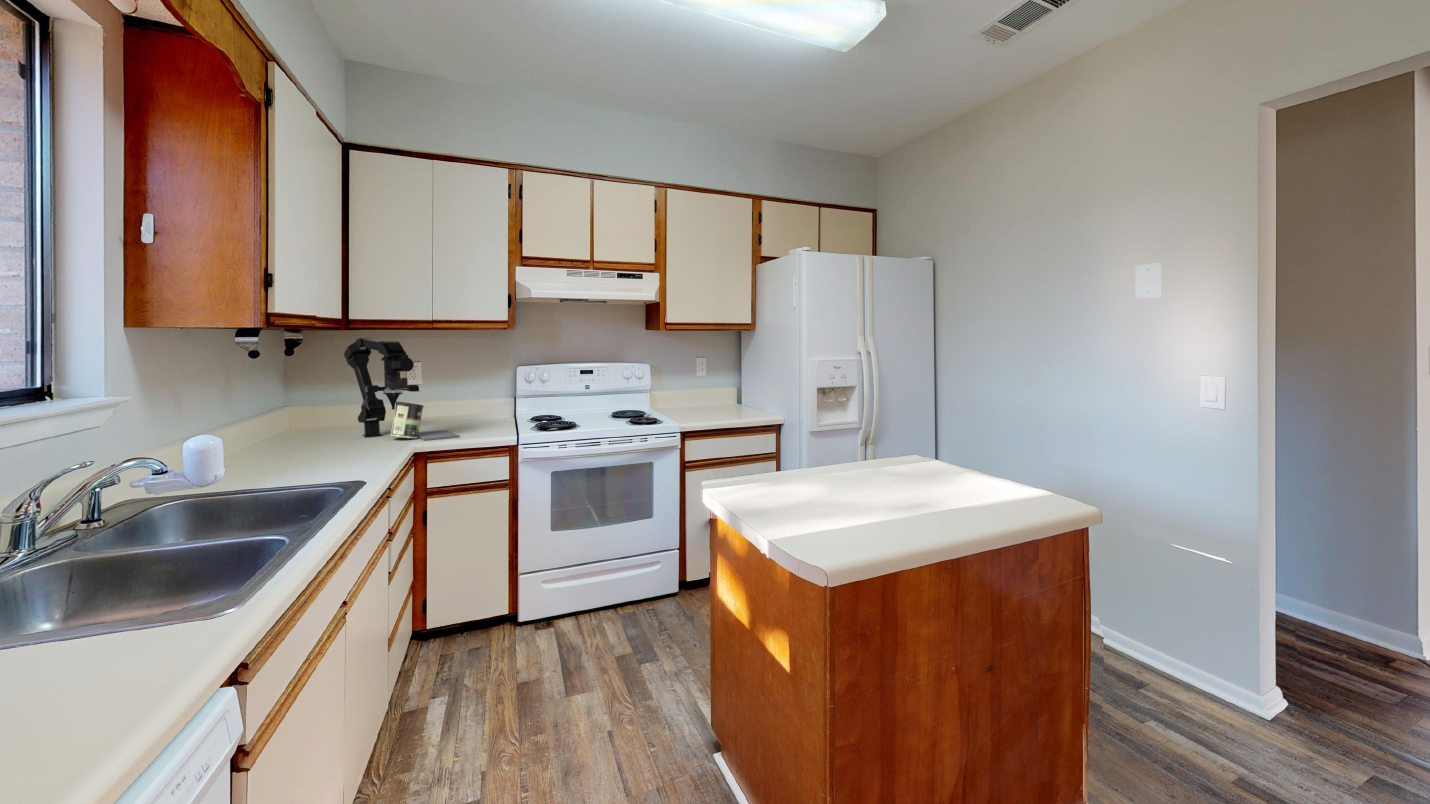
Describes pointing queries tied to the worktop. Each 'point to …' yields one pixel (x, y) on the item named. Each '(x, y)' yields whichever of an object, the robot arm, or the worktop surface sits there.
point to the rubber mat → (437, 435)
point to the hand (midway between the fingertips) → (393, 409)
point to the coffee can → (406, 420)
